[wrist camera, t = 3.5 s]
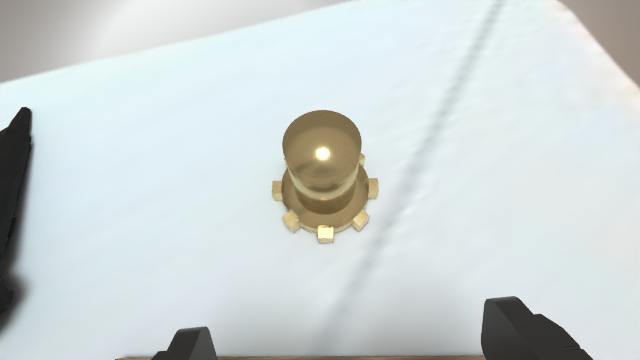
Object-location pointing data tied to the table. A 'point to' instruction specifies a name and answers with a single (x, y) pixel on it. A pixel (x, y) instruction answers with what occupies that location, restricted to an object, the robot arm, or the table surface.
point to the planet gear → (324, 176)
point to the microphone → (11, 182)
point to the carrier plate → (345, 358)
